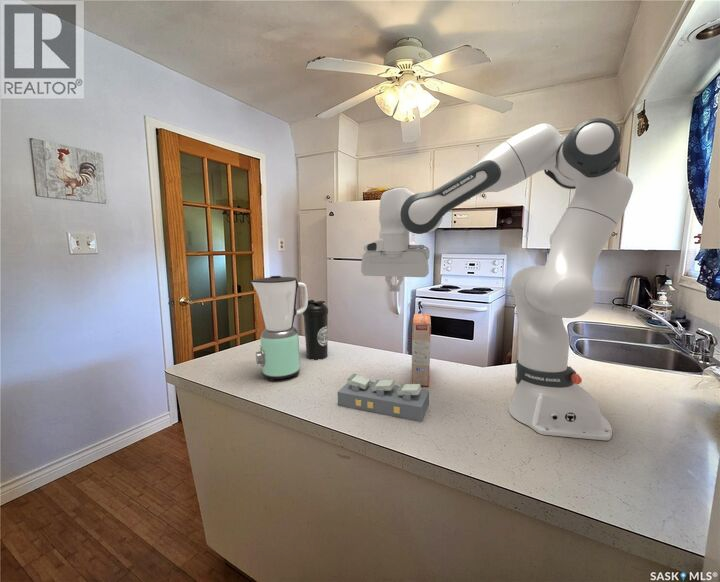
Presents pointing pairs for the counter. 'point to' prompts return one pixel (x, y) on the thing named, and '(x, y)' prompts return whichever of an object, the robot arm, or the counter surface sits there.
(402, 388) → the switch
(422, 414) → the switch unit
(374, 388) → the switch
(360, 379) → the switch
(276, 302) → the blender
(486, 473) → the counter surface
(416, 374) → the cracker box
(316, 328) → the water bottle
